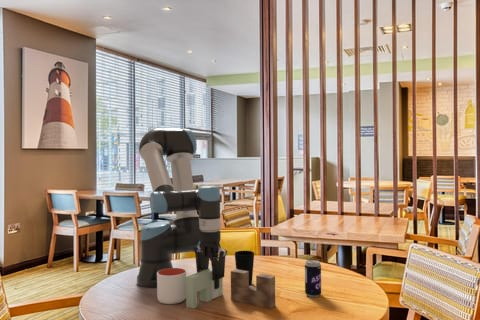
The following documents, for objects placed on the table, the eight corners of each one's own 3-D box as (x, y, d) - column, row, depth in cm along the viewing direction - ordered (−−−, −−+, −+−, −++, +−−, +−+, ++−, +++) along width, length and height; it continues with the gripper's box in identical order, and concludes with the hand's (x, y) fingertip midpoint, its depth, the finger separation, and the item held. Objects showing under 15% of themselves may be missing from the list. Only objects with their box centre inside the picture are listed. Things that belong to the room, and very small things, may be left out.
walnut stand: (230, 299, 146) (230, 270, 146) (235, 297, 148) (235, 268, 148) (270, 308, 137) (270, 278, 137) (275, 306, 139) (275, 276, 139)
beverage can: (311, 298, 146) (311, 264, 145) (301, 294, 151) (301, 260, 150) (324, 296, 148) (324, 262, 148) (314, 291, 153) (314, 258, 153)
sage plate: (193, 308, 138) (192, 278, 138) (186, 306, 140) (186, 276, 139) (222, 294, 151) (222, 267, 151) (216, 293, 153) (215, 265, 153)
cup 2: (252, 287, 159) (252, 255, 159) (233, 286, 161) (232, 254, 160) (256, 280, 167) (255, 250, 166) (237, 280, 168) (236, 250, 168)
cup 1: (173, 307, 139) (172, 277, 139) (151, 302, 144) (150, 273, 144) (192, 298, 148) (191, 270, 147) (170, 293, 153) (170, 266, 153)
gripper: (185, 229, 149) (186, 295, 149) (221, 234, 140) (222, 304, 140) (199, 226, 155) (200, 289, 155) (234, 230, 146) (235, 297, 146)
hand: (210, 296), depth 148 cm, fingers closed on sage plate, 3 cm apart
